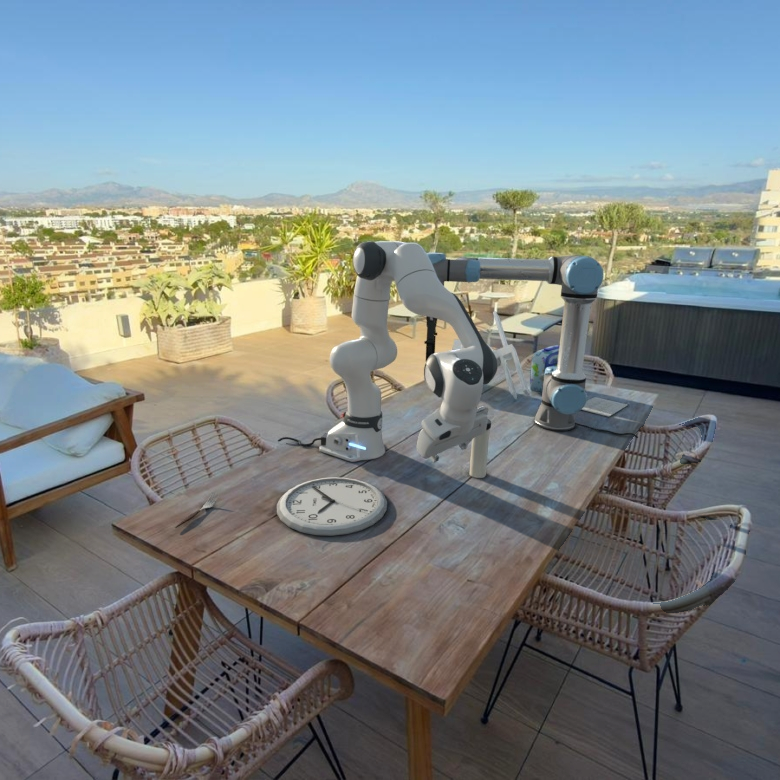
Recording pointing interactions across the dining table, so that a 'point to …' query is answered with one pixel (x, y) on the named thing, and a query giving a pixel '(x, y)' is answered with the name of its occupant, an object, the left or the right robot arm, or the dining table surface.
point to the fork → (206, 505)
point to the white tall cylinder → (479, 455)
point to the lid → (488, 424)
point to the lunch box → (542, 366)
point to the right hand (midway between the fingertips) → (430, 357)
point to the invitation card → (603, 406)
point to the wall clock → (331, 506)
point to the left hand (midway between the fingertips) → (448, 453)
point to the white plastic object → (503, 358)
